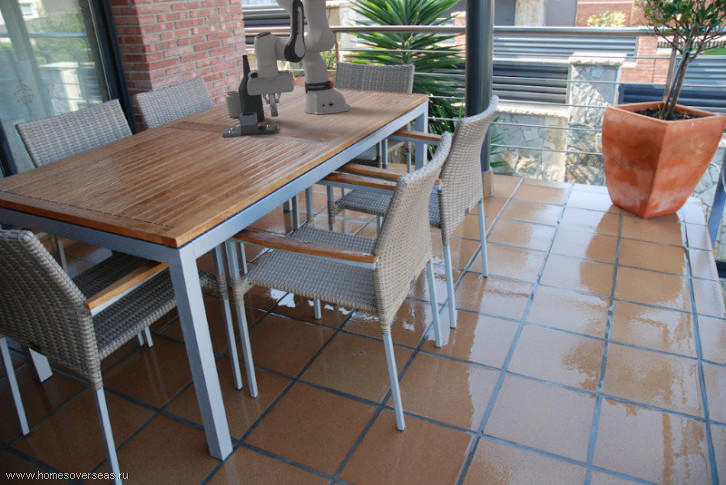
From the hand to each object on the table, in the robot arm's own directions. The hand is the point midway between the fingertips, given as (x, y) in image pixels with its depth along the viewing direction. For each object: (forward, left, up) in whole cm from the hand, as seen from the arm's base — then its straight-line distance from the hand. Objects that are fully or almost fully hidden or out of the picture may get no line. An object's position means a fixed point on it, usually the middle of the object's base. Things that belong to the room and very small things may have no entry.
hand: (273, 103), depth 255 cm
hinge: (+10, +10, -10) cm, 17 cm away
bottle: (+11, -12, -10) cm, 20 cm away
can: (+21, -24, -10) cm, 34 cm away
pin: (0, 0, -6) cm, 6 cm away
